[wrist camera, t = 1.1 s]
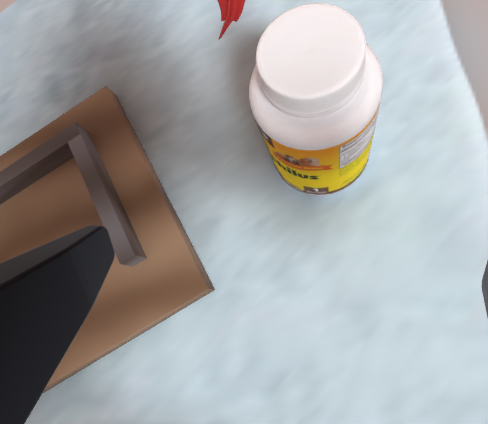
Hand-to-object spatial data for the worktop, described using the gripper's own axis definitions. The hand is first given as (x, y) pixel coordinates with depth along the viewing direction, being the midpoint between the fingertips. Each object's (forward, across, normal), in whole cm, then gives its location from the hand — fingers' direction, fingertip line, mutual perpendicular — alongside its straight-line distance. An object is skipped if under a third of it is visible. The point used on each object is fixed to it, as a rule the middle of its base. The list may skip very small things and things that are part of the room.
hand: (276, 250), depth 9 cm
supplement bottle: (+15, 0, +4) cm, 16 cm away
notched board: (+10, +17, +9) cm, 22 cm away
